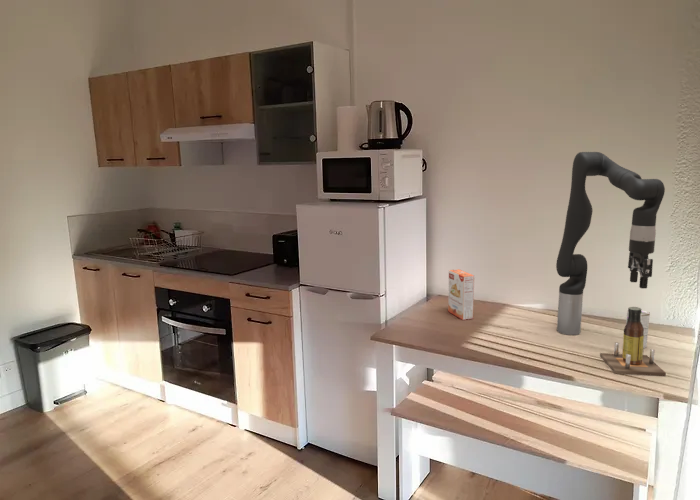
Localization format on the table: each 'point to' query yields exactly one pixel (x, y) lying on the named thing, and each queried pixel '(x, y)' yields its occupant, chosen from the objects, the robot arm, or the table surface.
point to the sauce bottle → (633, 337)
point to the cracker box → (461, 294)
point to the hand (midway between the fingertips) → (638, 285)
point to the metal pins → (628, 356)
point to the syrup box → (645, 323)
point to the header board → (631, 366)
